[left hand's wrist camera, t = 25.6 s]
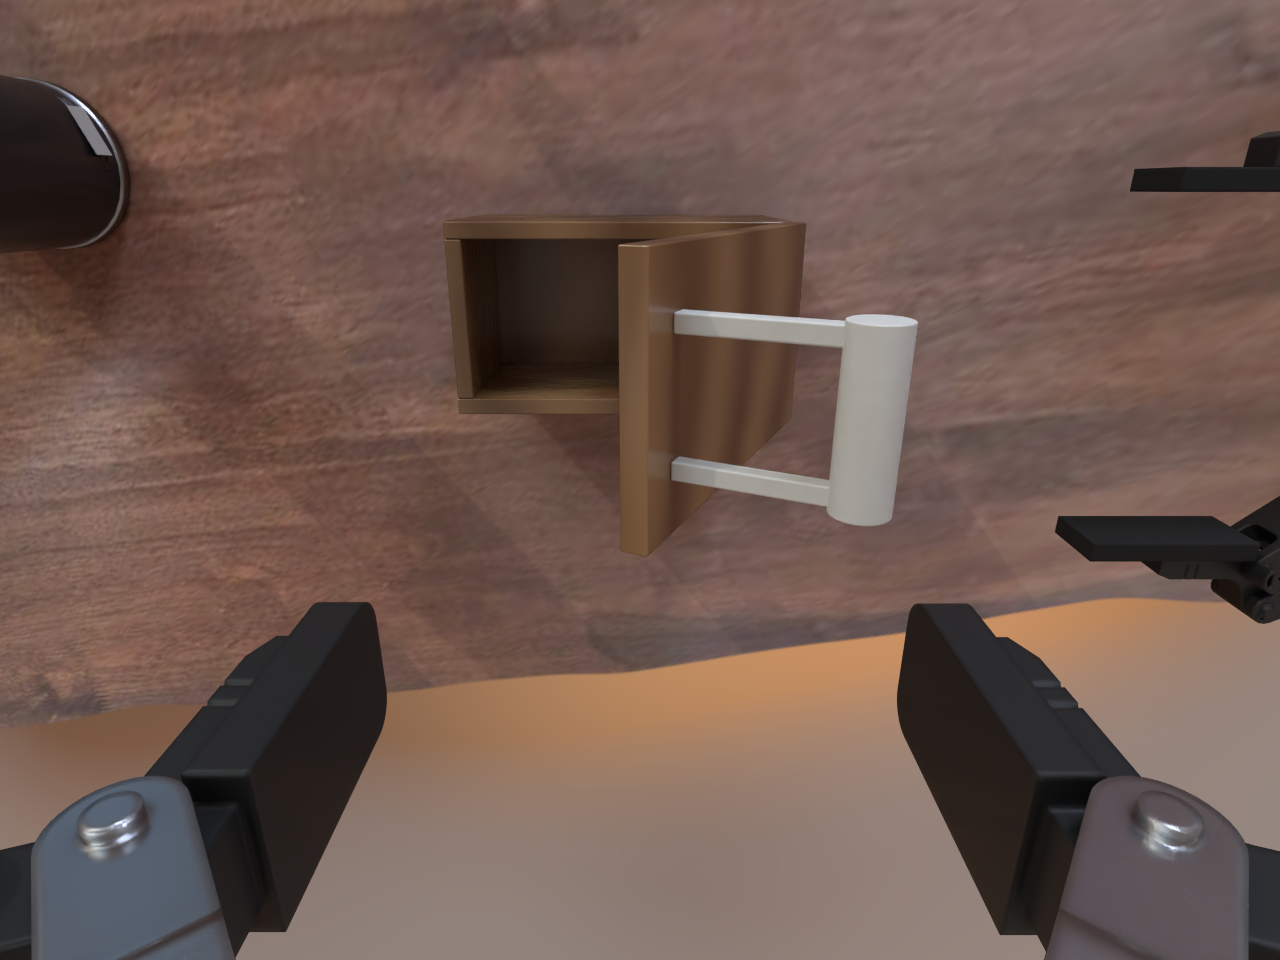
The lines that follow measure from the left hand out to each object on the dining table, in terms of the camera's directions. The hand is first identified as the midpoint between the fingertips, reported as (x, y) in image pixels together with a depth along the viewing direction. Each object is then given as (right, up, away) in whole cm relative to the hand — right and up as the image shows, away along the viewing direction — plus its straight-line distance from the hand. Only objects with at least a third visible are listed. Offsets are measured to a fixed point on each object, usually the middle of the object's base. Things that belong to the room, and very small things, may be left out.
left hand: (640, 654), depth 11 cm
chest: (-1, +14, +37) cm, 40 cm away
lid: (+3, +8, +20) cm, 21 cm away
